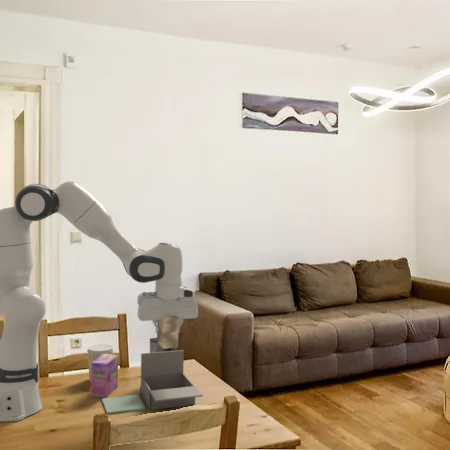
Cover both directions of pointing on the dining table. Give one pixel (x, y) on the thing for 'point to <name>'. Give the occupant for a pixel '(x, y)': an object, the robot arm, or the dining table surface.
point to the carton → (166, 380)
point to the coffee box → (157, 348)
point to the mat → (123, 404)
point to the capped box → (168, 332)
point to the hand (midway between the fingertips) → (167, 332)
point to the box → (104, 375)
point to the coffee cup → (97, 354)
